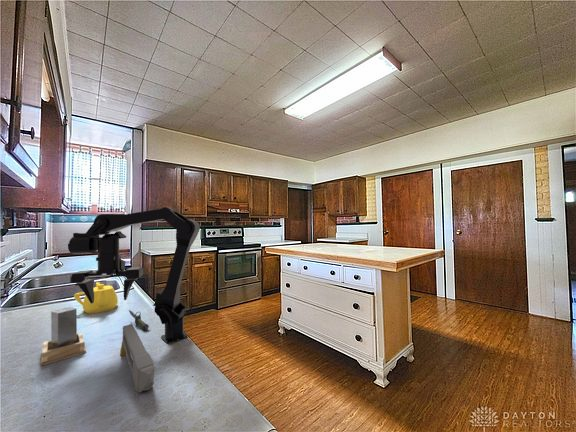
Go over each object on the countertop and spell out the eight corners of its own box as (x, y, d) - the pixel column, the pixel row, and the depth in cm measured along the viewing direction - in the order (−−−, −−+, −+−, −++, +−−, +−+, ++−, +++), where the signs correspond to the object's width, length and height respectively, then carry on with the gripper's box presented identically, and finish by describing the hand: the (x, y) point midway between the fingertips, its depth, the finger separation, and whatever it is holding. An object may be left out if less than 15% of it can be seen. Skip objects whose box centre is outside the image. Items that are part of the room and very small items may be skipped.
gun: (136, 428, 58) (141, 377, 54) (115, 351, 74) (119, 307, 71) (151, 420, 60) (157, 370, 56) (128, 347, 77) (132, 305, 73)
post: (76, 348, 76) (76, 308, 77) (58, 355, 72) (57, 313, 73) (69, 345, 78) (69, 306, 79) (51, 352, 75) (51, 311, 75)
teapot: (73, 307, 117) (72, 284, 117) (113, 299, 127) (113, 278, 127) (75, 321, 100) (75, 293, 100) (121, 310, 111) (121, 286, 111)
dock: (85, 352, 75) (85, 341, 75) (40, 365, 69) (40, 354, 69) (83, 341, 82) (83, 332, 82) (41, 352, 76) (41, 342, 76)
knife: (125, 315, 101) (125, 303, 100) (131, 314, 102) (131, 302, 102) (143, 335, 89) (144, 321, 88) (149, 333, 90) (150, 319, 90)
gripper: (147, 248, 92) (147, 292, 92) (86, 251, 87) (87, 297, 87) (138, 252, 81) (138, 301, 81) (68, 255, 76) (69, 308, 76)
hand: (109, 301), depth 82 cm, fingers open, 9 cm apart
